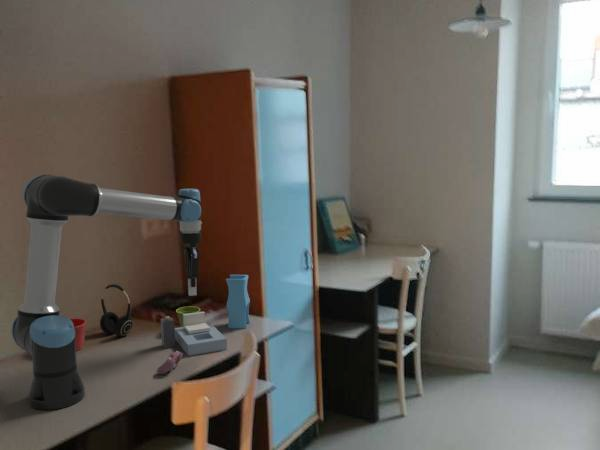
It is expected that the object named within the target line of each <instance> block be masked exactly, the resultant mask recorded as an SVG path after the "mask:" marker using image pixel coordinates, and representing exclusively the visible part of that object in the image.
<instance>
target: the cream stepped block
mask: <svg viewBox="0 0 600 450" xmlns="http://www.w3.org/2000/svg"><path fill="white" fill-rule="evenodd" d="M205 314H206V312H205V311H199V312H197V313H189V314H183V328H184V329H185V330H186V331H187V332H188V334H192V333H199V332H206V331H210V327H209V326H208V325H207V323H206V317H205V316H206V315H205Z"/></svg>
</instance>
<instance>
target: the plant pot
mask: <svg viewBox="0 0 600 450" xmlns="http://www.w3.org/2000/svg"><path fill="white" fill-rule="evenodd" d="M175 312H176V314H177V318H178V322H179V328H180V327H183V314H189V313H197V312H201V308H200V307H198V306H193V305H191V306H190V305H189V306H183V307H182V306H181V307H178V308H177V309H176V310H175Z"/></svg>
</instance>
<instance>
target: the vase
mask: <svg viewBox="0 0 600 450" xmlns="http://www.w3.org/2000/svg"><path fill="white" fill-rule="evenodd" d="M225 281H226V284H227V287H228V296H227V301H226V309H227V313H228V323H227V328H228V329H243V330H244V329H245V330H246V329H248V326H247V324H250V323H251V320H250V315H249V310H250V309H249V307H250V303H251V299H250V297H249V293H248V281H249V275H248V274H230V275H229V278H226V279H225Z"/></svg>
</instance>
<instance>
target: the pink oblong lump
mask: <svg viewBox="0 0 600 450" xmlns="http://www.w3.org/2000/svg"><path fill="white" fill-rule="evenodd" d="M183 356H184V353H183V352H181V351H178V350H176V351H173V352H171V353H170V354H169V356H168V358H167V359H166V360H165V362H164V363H163V364H162V365H160V366H159V367H158V368H157V370H156V372H157V374H158V375H164V374H166V373H167V372H170V373H171V372H172V371H173V369H176V367H178V364H179V362H180V361H181V359H182V357H183Z"/></svg>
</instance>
